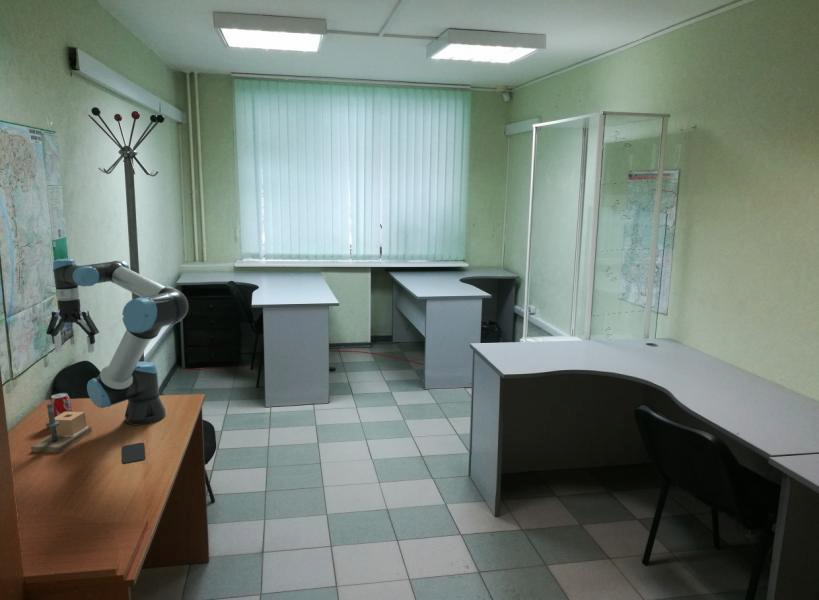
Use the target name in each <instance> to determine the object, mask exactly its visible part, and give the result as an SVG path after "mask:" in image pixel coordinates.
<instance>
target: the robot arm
mask: <svg viewBox="0 0 819 600" xmlns="http://www.w3.org/2000/svg"><path fill="white" fill-rule="evenodd" d="M52 266H53V269H52V272H53V278H54V285H55V291H56V298H57V308H58V310H57V309H56V310H54V311H51V318H50V321H49V324H48V327H47V330H46V332H45V333H46V335H50V336H51V338H52V344H54V349H55V353H60V352H62V351H63V348H62V342H61V341H62V339H61V334H59V333H60V332H61V330H62V329H63V327H64V326H65V324H67V323H69V324H70V323H71V324H72V323H73V324H75V325H78V326H79V327H80V328H81V329H82V331H84V333H86V335H87V336H86V343H87V344H86V345H87V351H88V352H87V353H89V354H90V353H91V354H92V353H94V352H95V343H96V339H95V335H98V334H99V333H100V331H99V329H98V327H97V325H96V324H95V322H94V320H93V319H92V317H91V315H90V312H89V311H90V310H84V311H81V299H80V298H79V297H80V291H79V290H80V289H79V286H80V287H92V286H94V285H96V284H101V283H107V282H111V283H113V284H115V285H116V286H118V287H121V288H122V289H124V290H127V291H129V292H130V293H132V294H133V295H136V296H138V297H136V298H133V299H131V300H129V301H128V302H127V303H126V304H124V307H123V308H122V316H123V317H122V322H123V325H124V327H125V329H126V330H125V331H124V334H123V336H122V337H121V341H120V342H119V344H118V347H117V348H116V350H115V353H114V354H113V356H112V358H111V360H110V362H109V364H108V365H107V366H105V367H103V368H102V369H101V371H100V373H98V376H97V377H94V378H93V377H92V379H90V380H89V381H88V382H87V384H86V389H87V391H86V392H87V395H88V396H89V397H88V398H89V399H90V401H91V402H92V404H93V405H94V406H96V407H97V408H99V409H105V408H108V407H111V406H113V405H114V406H115V405H117V404H119V403H122V402H125V401H127V406H126V409H125V413H124V419H125V420H124V421H126V422H127V423H126V422H125V423H126V424H128V423H129V425H133V424H134V425H136V426H137V425H138V426H139V425H140V426H141V425H145V424H146V425H148V424H152V423H155V421H156V422H158V421H160V419H161V420H162V419H164V418H165V417H166V415H167V413H166V408H165V406H164V404H163V402H162V400H161V397H160V391H159V380H158V370H157V365H155V363H154V362H152V361H151V362H150V361H140V360H141V359H142V356H143V354H144V353H145V351H146V348H147V346H148V345H149V343H150V341H151V340H154V339H155V338H156V337H158V335H159V333H160V332H161V329H162V328H163V327H165V326H166V327H167V326H170V325H174V324H177V323H179V322H181V321H182V320H183V319H185V317H186V316H187V314H188V311H189V301H188V299H187V297H186V295H185V294H184V293H183V292H182V291H180V290H179V289H177V288H175V287H173V286H164V285H163V284H160V283H158V282H156V281H155V280H152V279H150V278H148V277H146V276H144V275H141V274H140V273H138V272H136V271H133V270H132V269H131V268H130V266H129V265H128V264H127V262H126V261H124V260H112V261H107V262H100V263H99V262H98V263H92V264H82V265H77V264H76V260H75V259H74V258H58V259H55V260H54V261H53V262H52ZM59 317H60V319H59ZM164 416H165V417H164ZM163 417H164V418H163ZM157 420H158V421H157ZM151 422H152V423H151ZM147 423H148V424H147Z"/></svg>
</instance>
